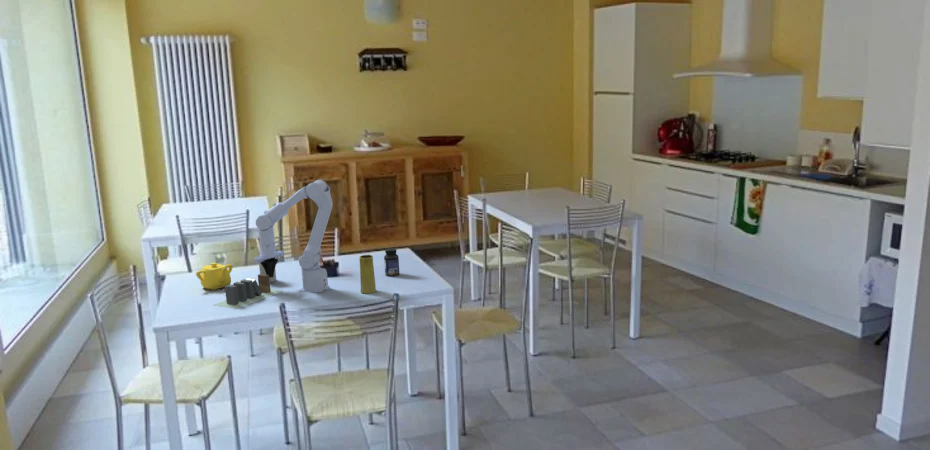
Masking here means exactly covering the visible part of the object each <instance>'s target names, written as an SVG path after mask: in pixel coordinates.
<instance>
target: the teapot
mask: <svg viewBox="0 0 930 450" xmlns="http://www.w3.org/2000/svg"><path fill="white" fill-rule="evenodd" d="M232 270H233V264H231V263H230V264H225V265H224V264H220V263H217V262H211V263H210V264H205V265H204V266H202V268H201V270H197V271H196V272H195V275H196V277H197V279H198V280H199V281H200V285H201V286H202V287H203V288H205V289H207V290H211V291H216V290H217V289H221V288H225V286H226V285H231V283H232V278H231V272H232Z"/></svg>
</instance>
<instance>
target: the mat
mask: <svg viewBox="0 0 930 450" xmlns="http://www.w3.org/2000/svg"><path fill="white" fill-rule="evenodd" d="M270 290H271V292H269V293H264V292H262V294H261V295H260V296H256V295H255V298H253V299H249V298H247V301H245V302H240V301H239V304H237V305H231V304H227V301H226V300H223V301H220V302H218V303H215V304H214V306H217V307H222V308H227V309H232V310H233V309H235V310H237V309H239V308H241V307H242V308H243V307H245V306H248V305H250V304H254V303H256V302H257V301H261V300H263V299H266V298H268V297H270V296H273V295H276V294H279V293H281V292H283V290H282V289H275V288H270Z"/></svg>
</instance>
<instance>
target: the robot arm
mask: <svg viewBox="0 0 930 450" xmlns="http://www.w3.org/2000/svg"><path fill="white" fill-rule="evenodd" d="M309 198H310V199H311V200H312V201H313V202H314V203H315V204H316V206H317V207H318V208H317V212H316V216H315V220H314V223H313V225H312V229H311V233H310V236H309V239H308V243H307V245H306V247H305V248H304V251H303V254H302V255H301V256H300V257H299V259H298V264H299V266H300V268H301V277H302V278H301V280H302V288H300V289H299V290H298V291H299V292H304V293H305V292H306V293H307V292H308V293H309V292H311V293H322V292H324V291H325V290H326V289H328V288H329V286H330V285H329V281H328V272H327V269H326V268H323V267H321V265H320V264H319V262H320V261H321V251H322V248H321V247H322V242H323V239H324V236H325V233H326V230H327V226H328V222H329V219H330V217H331V213H332V209H333V205H334V204H333V199H332V195H331V188H330V186H329V185H328V183H327V182H326V181H324V180H323V179H317V180H314V182H310V183H308V184H307V185H306V186H305V185H304V186H303V187H301V188H300V189H298V190H297V191H296V192H295V193H294V194H292V195H291V196H290V197H288V198H287V199H286V200H285V201H284V202H281V201H280V202H274V203H273V204H272V207H270V208H269V209H267V210H264V211H263V214H262V215H259V216H258V217H257V219H255V226H256V228H258V238H259V249H260V250H259V251H260V254H259V255H260V256H259V255H258V256H256V257H254V258H253V260H252V261H253V264H256V265H259V263H261V265H262V266H263V268H264V269H265V272H266V274H267V275H269V278H272V277H273V276H274V270H276V266H277V264H278V262H279V260H278V258H279V257H284V251H283V250H278V251H276V244H275V243H276V242H275V232H274V226H275V224H276V223H277V222H280V220H282V219H283V218H284V217H285V216H287V215H288V214H289V210H290V208H292V207H293V206H294V205H296V204H298V203H299V202H300V201H302V200H303V199H309Z"/></svg>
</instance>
